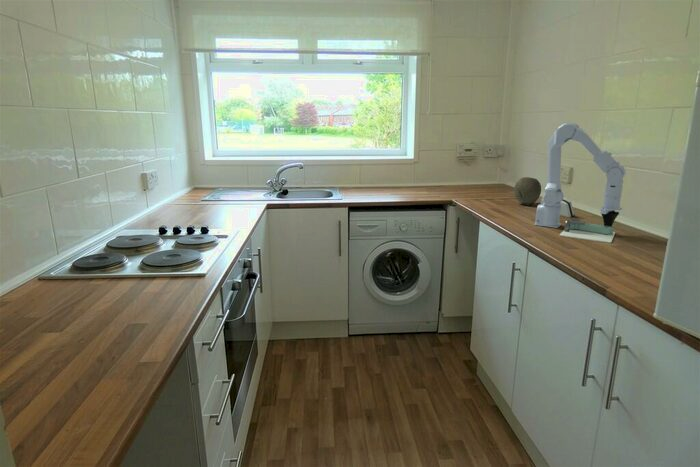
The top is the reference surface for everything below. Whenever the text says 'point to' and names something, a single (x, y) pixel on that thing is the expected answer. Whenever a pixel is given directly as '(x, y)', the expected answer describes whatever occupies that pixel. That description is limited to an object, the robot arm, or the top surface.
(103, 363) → the top surface
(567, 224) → the keeper
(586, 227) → the link
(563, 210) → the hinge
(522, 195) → the cantaloupe
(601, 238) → the plate
